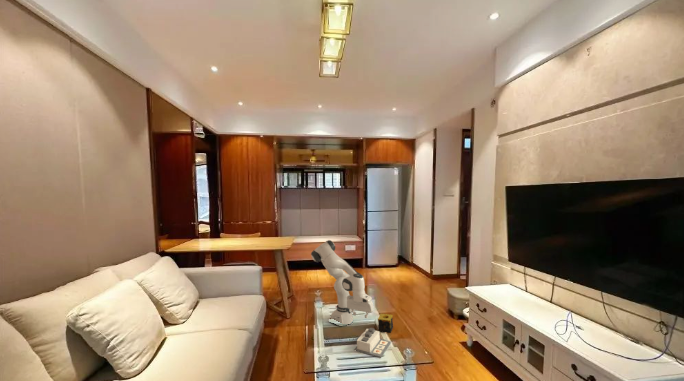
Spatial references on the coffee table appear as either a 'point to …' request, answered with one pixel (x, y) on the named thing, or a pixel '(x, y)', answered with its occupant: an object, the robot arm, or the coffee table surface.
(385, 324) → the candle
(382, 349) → the switch unit
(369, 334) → the switch
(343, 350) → the coffee table surface
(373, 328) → the switch
